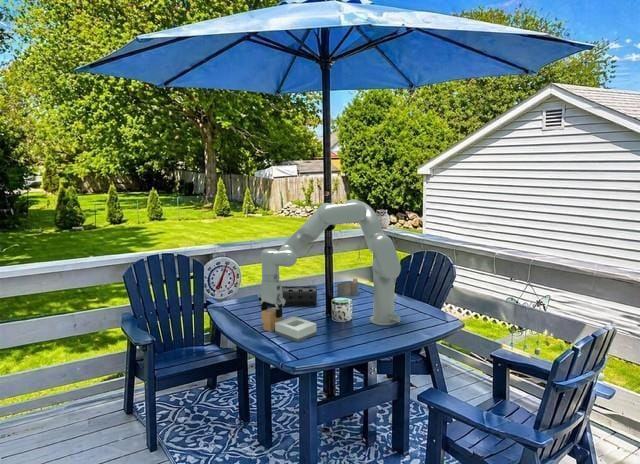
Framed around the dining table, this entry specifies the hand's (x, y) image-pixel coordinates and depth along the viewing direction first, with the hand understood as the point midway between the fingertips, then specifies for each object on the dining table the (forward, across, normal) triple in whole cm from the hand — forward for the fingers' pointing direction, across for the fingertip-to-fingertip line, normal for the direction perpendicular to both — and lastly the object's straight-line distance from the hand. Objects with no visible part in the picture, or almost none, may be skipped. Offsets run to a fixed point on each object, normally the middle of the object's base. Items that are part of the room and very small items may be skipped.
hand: (271, 314), depth 205 cm
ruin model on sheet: (+7, +6, -60) cm, 61 cm away
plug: (+6, 0, 0) cm, 6 cm away
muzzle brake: (+7, +18, -28) cm, 34 cm away
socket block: (+6, -13, -2) cm, 15 cm away
